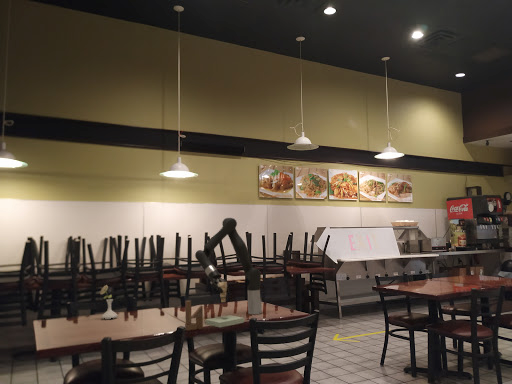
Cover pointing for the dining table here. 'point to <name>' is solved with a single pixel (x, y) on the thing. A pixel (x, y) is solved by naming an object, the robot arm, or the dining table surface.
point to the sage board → (224, 321)
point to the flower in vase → (109, 312)
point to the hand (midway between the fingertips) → (225, 291)
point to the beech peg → (224, 288)
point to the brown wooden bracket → (197, 315)
